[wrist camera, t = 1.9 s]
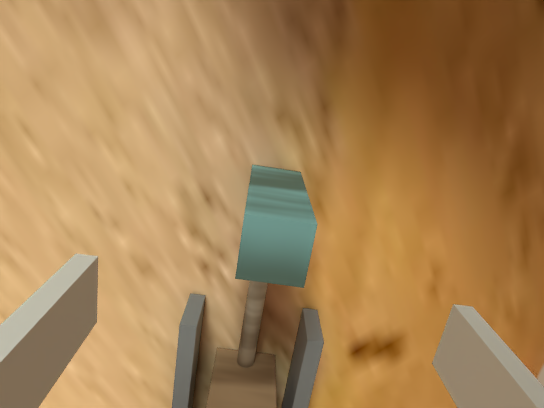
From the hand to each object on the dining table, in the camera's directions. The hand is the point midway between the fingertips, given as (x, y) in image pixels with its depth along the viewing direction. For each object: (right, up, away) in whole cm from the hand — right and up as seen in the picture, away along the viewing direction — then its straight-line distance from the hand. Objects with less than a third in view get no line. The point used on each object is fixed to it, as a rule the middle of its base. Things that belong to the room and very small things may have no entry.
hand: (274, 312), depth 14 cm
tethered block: (-1, -4, +17) cm, 18 cm away
